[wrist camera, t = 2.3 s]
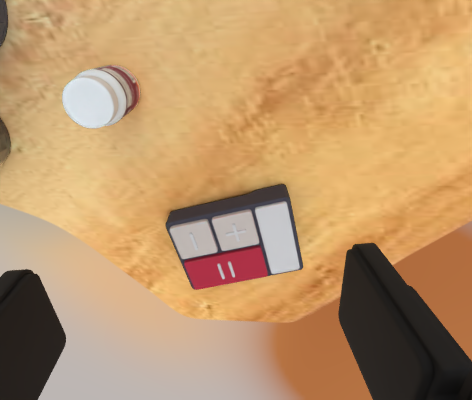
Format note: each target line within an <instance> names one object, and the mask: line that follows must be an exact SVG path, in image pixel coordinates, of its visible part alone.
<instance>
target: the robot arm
mask: <svg viewBox="0 0 472 400" xmlns="http://www.w3.org/2000/svg"><path fill="white" fill-rule="evenodd" d="M339 321H340V324H341V326H342V329H343V331H344V334H345V336H346V338H347V341H348V343H349V345H350V348H351V350H352V352H353V355H354V357H355V359H356V361H357V364H358V366H359V368H360V371H361V373H362V375H363V378H364V380H365V382H366V385H367V387H368V389H369V391H370V394H371V396H372V398H373V400H472V361H471V360H470V359H469V357H468V356H467V355H466V354H465V352H464V351H463V350H462V349H461V347H460V346H459V345H458V343H457V342H456V341H455V340H454V338H453V337H452V336H451V335H450V333H449V332H448V331H447V330H446V328H445V327H444V326H443V325H442V323H441V322H440V321H439V320H438V318H437V317H436V316H435V314H434V313H433V312H432V311H431V309H430V308H429V307H428V306H427V304H426V303H425V302H424V301H423V299H422V298H421V297H420V296H419V294H418V293H417V292H416V291H415V290H414V289H413V288H412V287H411V286H409V285H407V284H406V283H405V281H404V280H403V279H402V277H401V276H400V275H399V274H398V272H397V271H396V270H395V268H394V267H393V266H392V265H391V263H390V262H389V261H388V259H387V258H386V257H385V256H384V254H383V253H382V252H381V250H380V249H379V248H378V247H377V245H376V244H374V243H365V244H355V245H353V247H352V249H350V250H348V251H347V254H346V261H345V269H344V276H343V284H342V291H341V298H340V306H339ZM65 343H66V335H65V333H64V330H63V328H62V326H61V324H60V321H59V319H58V317H57V315H56V313H55V311H54V309H53V306H52V304H51V302H50V299H49V297H48V295H47V293H46V291H45V288H44V286H43V284H42V282H41V280H40V277H39V276H38V275H37V274H34V273H33V271H31V270H27V269H26V270H12V271H7V272H5V273H4V274H3V275H2V276H1V277H0V400H38V398H39V396H40V394H41V392H42V390H43V388H44V386H45V384H46V382H47V380H48V378H49V376H50V374H51V372H52V370H53V368H54V366H55V364H56V363H57V361H58V359H59V357H60V354H61V353H62V351H63V349H64V346H65Z"/></svg>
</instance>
